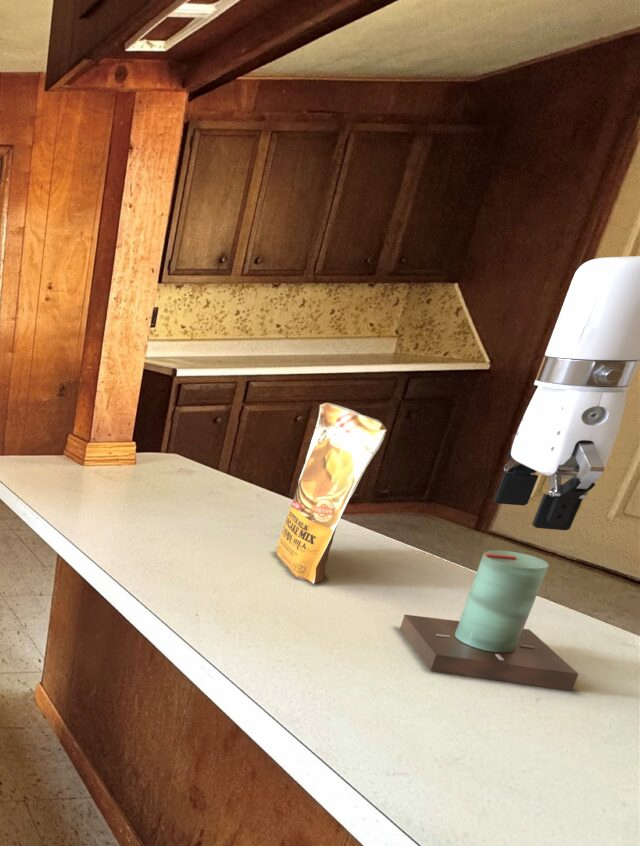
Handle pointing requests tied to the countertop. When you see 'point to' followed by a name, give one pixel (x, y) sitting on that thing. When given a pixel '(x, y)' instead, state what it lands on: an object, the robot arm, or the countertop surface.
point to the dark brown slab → (487, 656)
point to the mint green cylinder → (500, 600)
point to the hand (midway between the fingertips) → (528, 515)
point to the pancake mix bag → (326, 487)
